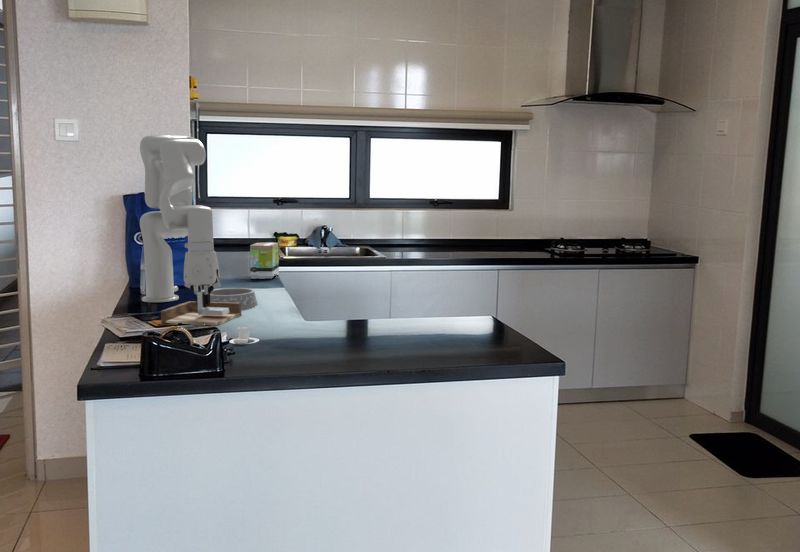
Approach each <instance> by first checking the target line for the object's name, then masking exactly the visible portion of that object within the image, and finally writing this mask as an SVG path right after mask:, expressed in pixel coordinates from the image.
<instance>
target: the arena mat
mask: <svg viewBox="0 0 800 552" xmlns="http://www.w3.org/2000/svg"><path fill="white" fill-rule="evenodd" d="M238 317H240V316H239V313H227V314H225V315H223V316H219V315H198V312H195V311H191V312H189V313H186V314H183V315H180V316H178V317H175V318H172V319H170V320H167V321H166V323H182V324H191V325H190V326H205V325H211V327H217V326H219V325H222V324H225V323H226V322H229V321H231V320H234V319H236V318H238ZM160 322H162V321H160ZM162 323H163V322H162ZM204 324H205V325H204Z"/></svg>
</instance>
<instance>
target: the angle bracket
mask: <svg viewBox="0 0 800 552" xmlns="http://www.w3.org/2000/svg"><path fill="white" fill-rule="evenodd" d="M203 295H204V289H202V291H199V292H197V302H198V315H219V316H223V315H225V314H227V313H229V308H219V307H210V306H209V307H206V308H204V304H203Z"/></svg>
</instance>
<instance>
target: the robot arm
mask: <svg viewBox="0 0 800 552" xmlns="http://www.w3.org/2000/svg"><path fill="white" fill-rule="evenodd" d="M139 152H140V156H141V159H142V162H143V166H144V201H145V204H146V206H147V207H149V208H151V209H159V211H157V210H155V211H148V212H146V213H144V214H141V216H140V219H139V228H140V232H141V237H142V244H143V258H144V277H145V294H146V295H144V296H143V297H141V301H142V302H144V303H168V302H174V301H178V300H179V299H180V297H179V295H178V294H175V292H177V291H179V287H178V286H177V285H175V284H174V266H173V265H174V264H173V262H174V261H173V251H172V248H171V246H170V245H169V244H168V242H166V240H165V239H171V238H172V239H173V238H185V237H187V242H185V243H184V248H186V249H187V251H186V252H185V254H184V261H183V263H184V264H183V282H184V287H186V288H188V289H190V290H191V291H192V292H193V294H194V295H195V300H196V304H197V307H198V302H197V292H199V291H202V290H204V295H203V304H204V308H206V307H209V306H210V293H211V292H212V291H213V290H216V289H219V288H221V286H222V284H221V282H220V281H221V280H220V278H221V277H220V275H221V273H220V266H219V259H218V256H217V252H216V251H215V249H214V248H215V247H214V227H213V226H214V224H213V223H214V222H213V221H214V217H213V210H212V208H211V207H209V206H205V205H201V204H200V205H199V204H198V205H197V204H193V193H192V189H191V187H192V186H193V184H194V183H195V180H196V179H195V178H196V177H195V174H194V171H193V168H192V166H202V165H203V164H204V163H205V161H206V159H207V158H206V156H207V155H206V153H207V152H206V148H205V146H204V144H203V143H202V141H200V139H198V138H195V137H193V136H189V135H167V134H166V135H165V134H164V135H163V134H154V135H152V134H151V135H146V136H143V137H142V138H141V140H140V143H139ZM202 286H203V288H202Z"/></svg>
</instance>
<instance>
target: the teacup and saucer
mask: <svg viewBox="0 0 800 552" xmlns="http://www.w3.org/2000/svg"><path fill="white" fill-rule="evenodd" d="M237 335H238V338H233V339H230V340H229V343H230V344H233V345H250V344H251V345H252V344H255V343H258V342H260V339H259V338H256V337H250V326H249V327H248V326H239V327H237ZM249 340H253V341H252V342H249Z"/></svg>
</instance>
